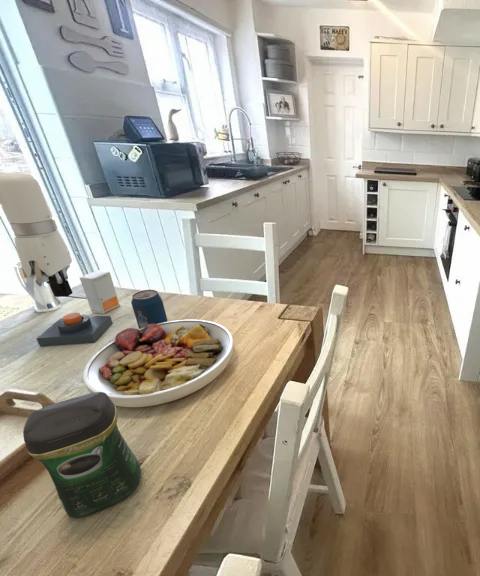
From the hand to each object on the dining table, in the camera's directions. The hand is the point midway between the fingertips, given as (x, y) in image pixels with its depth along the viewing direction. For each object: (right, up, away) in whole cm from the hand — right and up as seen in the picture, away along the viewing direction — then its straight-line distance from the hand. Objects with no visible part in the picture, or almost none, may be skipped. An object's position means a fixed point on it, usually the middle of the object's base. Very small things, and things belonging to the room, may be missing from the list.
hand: (64, 295), depth 85 cm
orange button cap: (0, -7, +3) cm, 8 cm away
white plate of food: (+32, -18, -5) cm, 37 cm away
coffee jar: (+39, -32, -32) cm, 60 cm away
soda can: (+18, -11, +8) cm, 23 cm away
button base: (0, -11, +4) cm, 12 cm away
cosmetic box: (-3, -5, +17) cm, 18 cm away
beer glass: (-20, -4, +15) cm, 25 cm away
